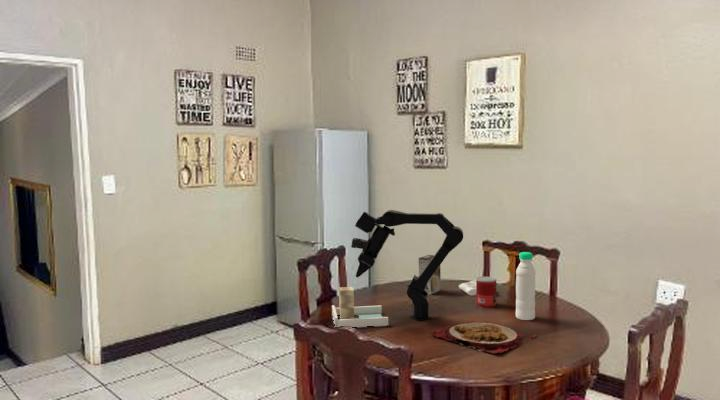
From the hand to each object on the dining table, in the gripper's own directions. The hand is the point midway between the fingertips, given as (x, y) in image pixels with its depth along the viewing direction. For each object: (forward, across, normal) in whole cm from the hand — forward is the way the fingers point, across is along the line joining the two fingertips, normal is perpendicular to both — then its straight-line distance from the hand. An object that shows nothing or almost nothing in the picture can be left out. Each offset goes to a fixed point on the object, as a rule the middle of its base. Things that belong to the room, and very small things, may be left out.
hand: (357, 274), depth 206 cm
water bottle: (-18, -1, +63) cm, 66 cm away
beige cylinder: (+16, +6, +5) cm, 18 cm away
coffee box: (-1, -38, +33) cm, 50 cm away
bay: (+14, +5, +9) cm, 17 cm away
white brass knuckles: (-11, -39, +52) cm, 66 cm away
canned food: (-12, -18, +52) cm, 57 cm away
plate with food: (-7, +20, +48) cm, 53 cm away
